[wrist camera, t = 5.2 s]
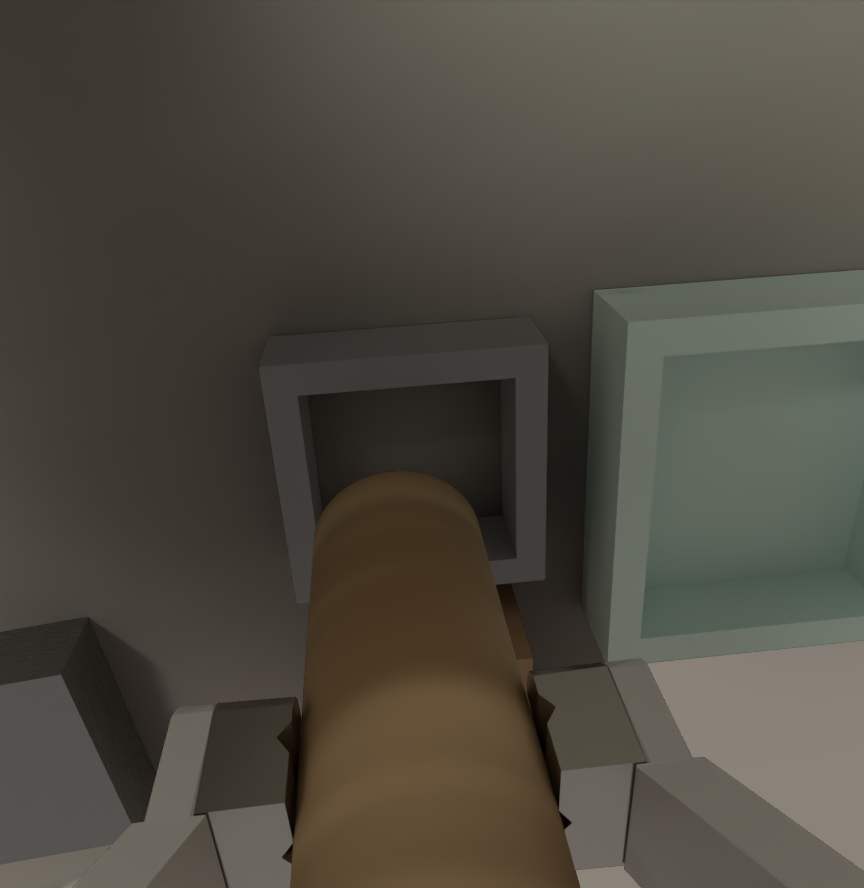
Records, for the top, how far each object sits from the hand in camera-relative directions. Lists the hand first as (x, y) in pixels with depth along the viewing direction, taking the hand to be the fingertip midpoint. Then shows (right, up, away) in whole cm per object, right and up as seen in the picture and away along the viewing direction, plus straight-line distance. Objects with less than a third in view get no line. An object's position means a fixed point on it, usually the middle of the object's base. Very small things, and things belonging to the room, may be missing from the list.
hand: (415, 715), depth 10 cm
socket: (0, +4, +9) cm, 10 cm away
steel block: (-11, -4, +12) cm, 17 cm away
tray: (+8, +3, +10) cm, 13 cm away
